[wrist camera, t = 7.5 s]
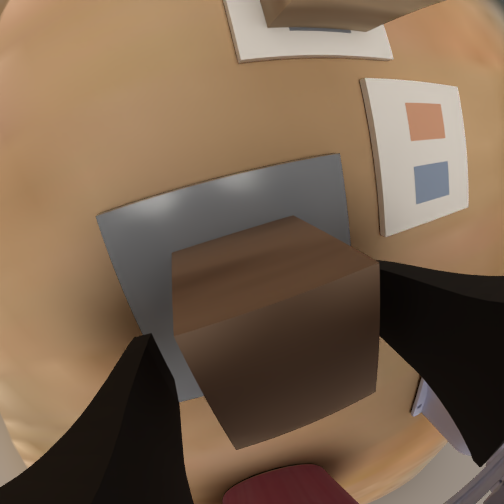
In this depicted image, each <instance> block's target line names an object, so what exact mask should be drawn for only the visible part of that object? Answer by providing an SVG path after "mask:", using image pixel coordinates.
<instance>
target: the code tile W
mask: <svg viewBox="0 0 504 504" xmlns="http://www.w3.org/2000/svg"><path fill="white" fill-rule="evenodd" d="M360 85H361V89H362V94H363V98H364V103H365V108H366V114H367V119H368V125H369V131H370V137H371V144H372V150H373V158H374V166H375V174H376V183H377V193H378V205H379V219H380V235H382V236H384V237H388V236H391V235H393V234H396V233H399V232H402V231H405V230H407V229H410V228H413V227H416V226H419V225H421V224H424V223H427V222H430V221H432V220H435V219H438V218H440V217H443V216H446V215H449V214H451V213H454V212H457V211H459V210H462V209H464V208H467V207H468V166H467V151H466V140H465V131H464V123H463V116H462V109H461V103H460V98H459V92H458V87H455V86H449V85H442V84H435V83H428V82H419V81H409V80H396V79H379V78H363V79H360Z"/></svg>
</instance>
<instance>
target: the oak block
mask: <svg viewBox="0 0 504 504" xmlns="http://www.w3.org/2000/svg"><path fill="white" fill-rule="evenodd" d="M442 1H445V0H260V3H261V6H262V10H263V13H264V17H265V20H266V24H267V28H278V27H309V28H330V29H343V30H353V31H362V32H367V31H369V30H372V29H374V28H376V27H378V26H380V25H383V24H385V23H387V22H389V21H392V20H394V19H396V18H399V17H401V16H404V15H406V14H409V13H411V12H414V11H417V10H419V9H422V8H425V7H427V6H430V5H433V4H436V3H439V2H442Z"/></svg>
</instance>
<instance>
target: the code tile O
mask: <svg viewBox="0 0 504 504" xmlns="http://www.w3.org/2000/svg"><path fill="white" fill-rule="evenodd" d="M223 3H224V6H225V10H226V14H227V18H228V22H229V26H230V30H231V34H232V39H233V43H234V47H235V51H236V55H237V59H238V63H244V62H253V61H263V60H274V59H290V58H356V59H372V60H383V61H390V60H393V55H392V51H391V48H390V44H389V41H388V38H387V34H386V31H385V28H384V25H380V26H378V27H376V28H374V29H372V30H369V31H367V32H362V31H353V30H343V29H330V28H309V27H278V28H267V24H266V20H265V17H264V13H263V10H262V6H261V3H260V0H223Z"/></svg>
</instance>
